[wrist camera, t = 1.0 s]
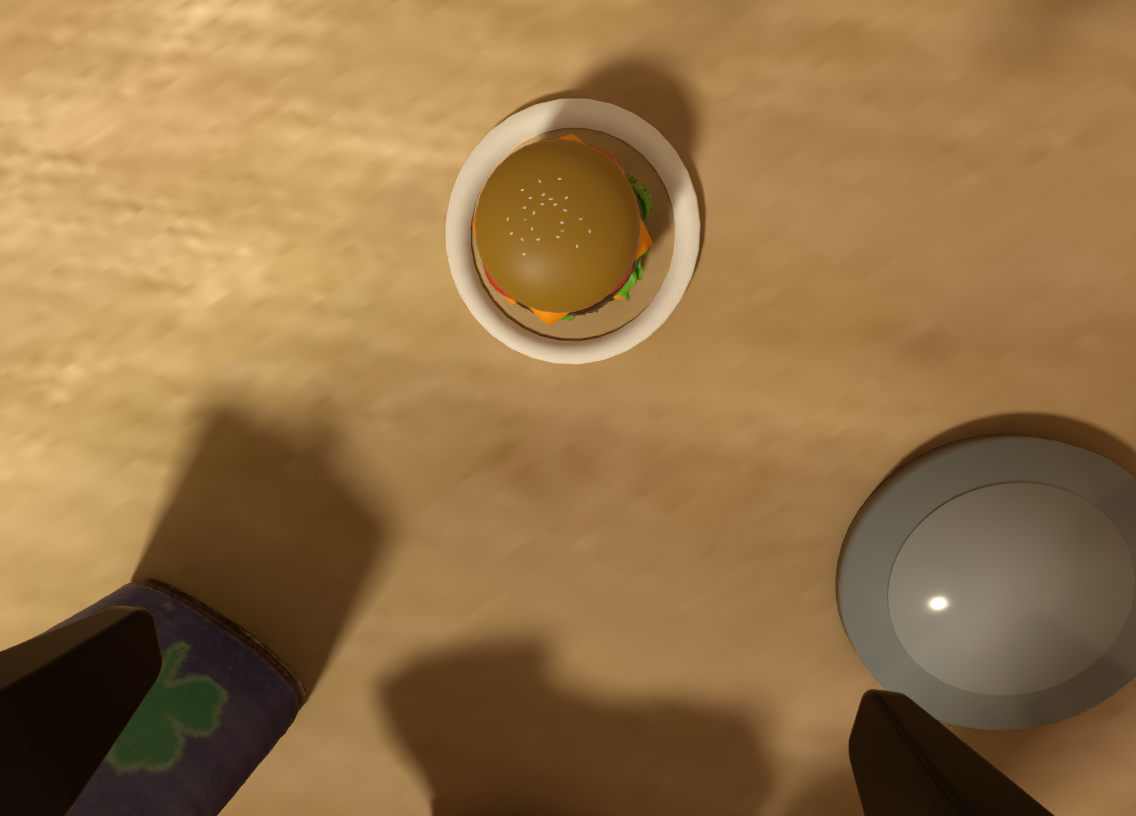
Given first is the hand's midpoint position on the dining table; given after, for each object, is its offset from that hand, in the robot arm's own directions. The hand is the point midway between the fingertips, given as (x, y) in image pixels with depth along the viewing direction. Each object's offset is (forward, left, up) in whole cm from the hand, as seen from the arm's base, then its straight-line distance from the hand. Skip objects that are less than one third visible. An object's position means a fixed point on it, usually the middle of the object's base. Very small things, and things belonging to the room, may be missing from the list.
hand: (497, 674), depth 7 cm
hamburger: (+7, 0, -15) cm, 17 cm away
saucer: (-6, -15, -14) cm, 21 cm away
